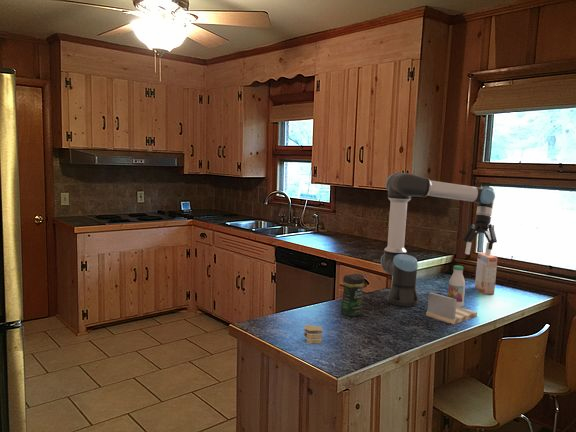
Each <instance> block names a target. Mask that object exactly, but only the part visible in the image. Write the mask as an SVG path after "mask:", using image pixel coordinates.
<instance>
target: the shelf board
mask: <svg viewBox="0 0 576 432" xmlns="http://www.w3.org/2000/svg"><path fill="white" fill-rule="evenodd" d="M425 316H426V317H429V318H431V319H435V320H437V321H441V322H445V323H447V324H450V323H451V325H456V324H460V323H462V322H464V321H468V320H470V319H474V318H476V317H478V312H477V311H474V310H471V309H467V308H463V307H457V306H456V312H455V319H454V320H452V319H449V318H446V317H442V316H439V315H436V314H433V313H430V312H427V311H426V313H425ZM459 322H460V323H459Z"/></svg>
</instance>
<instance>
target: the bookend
mask: <svg viewBox="0 0 576 432" xmlns="http://www.w3.org/2000/svg"><path fill="white" fill-rule="evenodd" d="M456 301H457V299H453V298H450V297H448V296H445V295H441V294H438V293H435V292H431V291H430V292H428V298H427V312H430V313H433V314H436V315H439V316H442V317H446V318H449V319H452V320H454V319H455V312H456Z"/></svg>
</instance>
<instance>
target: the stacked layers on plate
mask: <svg viewBox="0 0 576 432" xmlns="http://www.w3.org/2000/svg"><path fill="white" fill-rule="evenodd" d="M303 328H304V329H303V331H304V333H303V337H304V338H305V339H306V343H307V344H309V345H311V344H321V343H322V341H323V337H322V335H323V327H322V326H319V325H317V326H316V325H311V324H310V325H309V324H305V325H303Z"/></svg>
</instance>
